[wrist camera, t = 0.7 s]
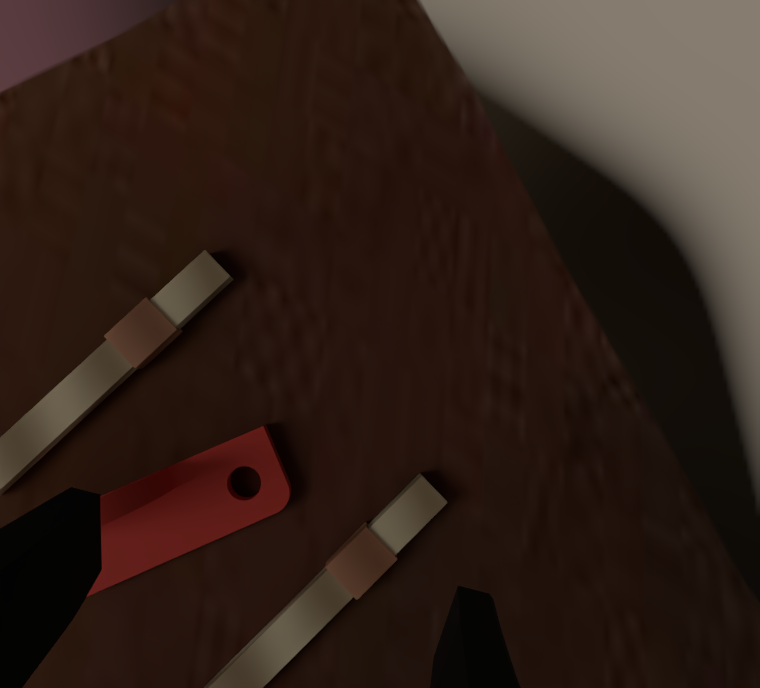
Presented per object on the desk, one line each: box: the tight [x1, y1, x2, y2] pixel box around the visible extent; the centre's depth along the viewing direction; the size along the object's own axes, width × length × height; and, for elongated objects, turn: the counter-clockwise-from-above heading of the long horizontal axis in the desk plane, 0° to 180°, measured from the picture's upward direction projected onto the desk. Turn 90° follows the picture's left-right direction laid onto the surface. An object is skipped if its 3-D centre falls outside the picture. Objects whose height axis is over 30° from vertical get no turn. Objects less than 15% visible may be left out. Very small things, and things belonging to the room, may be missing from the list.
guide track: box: [0, 250, 448, 688], centre depth 33 cm, size 17×19×1 cm
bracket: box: [87, 425, 291, 596], centre depth 30 cm, size 12×4×8 cm, turn 113°
